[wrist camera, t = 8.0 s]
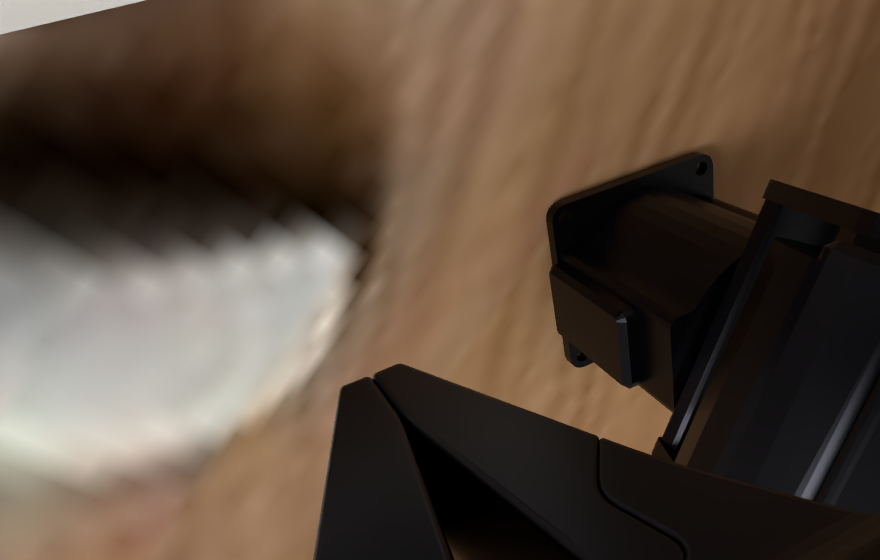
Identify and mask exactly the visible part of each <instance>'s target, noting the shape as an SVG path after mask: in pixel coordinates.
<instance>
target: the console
mask: <svg viewBox="0 0 880 560" xmlns="http://www.w3.org/2000/svg"><path fill="white" fill-rule="evenodd" d="M140 1H144V0H0V34H4V33H8V32H13V31H17V30H21V29H25V28H30V27H34V26H38V25H42V24H47V23H51V22H55V21H59V20H64V19H68V18H72V17H76V16H81V15H85V14H89V13H93V12H98V11H102V10H106V9H110V8H115V7H119V6H123V5H127V4H132V3H136V2H140Z"/></svg>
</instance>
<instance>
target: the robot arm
mask: <svg viewBox="0 0 880 560" xmlns="http://www.w3.org/2000/svg"><path fill="white" fill-rule="evenodd" d="M698 163H699V168H698V170H697V171H696V172H695V170H696V166H697V165H698ZM762 198H765V199H766V200H765V202H764V204H763V207H762V209H761V211H760V214H759V215H757V214H754V213H752V212H749V211H747V210H744V209H741V208H739V207H736V206H733V205H731V204H728V203H725V202H723V201H720V200H717V199H715V198H713V163H712V159H711V158H710V156H708V155H705V154H702V153H699V152H695V153H691V154H688V155H685V156H682V157H680V158H677V159H674V160H671V161H669V162H666V163H663V164H660V165H657V166H655V167H652V168H649V169H646V170H644V171H641V172H638V173H635V174H632V175H630V176H627V177H624V178H621V179H619V180H616V181H613V182H610V183H608V184H605V185H602V186H599V187H596V188H594V189H591V190H588V191H585V192H583V193H580V194H577V195H574V196H571V197H569V198H566V199H563V200H560V201H558V202H556V203H554V204H553V205H552V206H551V207H550V208H549V210H548V212H547V215H546V222H547V229H548V236H549V243H550V250H551V258H552V265H553V266H552V267H551V270H550V273H549V276H550V283H551V290H552V297H553V304H554V311H555V318H556V325H557V331H558V333H559V334H561V335H562V337H563V344H564V351H565V356H566V359H567V360H568V361H569V362H570V363H571V364H573V365H574V366H575V367H579V368H580V367H584V366H587V365H589V364H591V363H593V362H594V363H596V364H597V365H598V366H599V367H600V368H602V369H603V370H604V371H605V372H606V373H608V374H609V375H610V376H611V377H612V378H614V379H615V380H616V381H617V382H618V383H620V384H621V385H623V386H625V387H627V388H629V389H630V388H632V387H634V386H637V385H639V386H640V387H641V388H643V389H644V390H645V391H646V392H648V393H649V394H650V395H651V396H653V397H654V398H655V399H656V400H658V401H659V402H660V403H661V404H663V405H664V406H665V407H666V408H668V409H669V410H670V411H671V412H673V413H672V416H671V418H670V420H669V423H668V425H667V427H666V430H665V432H664V434H663V436H662V437H659V438H658V439H657V442H656V444H655V446H654V449H653V451H652V455H650V454H647V453H644V452H641V451H638V450H635V449H632V448H629V447H626V446H624V445H621V444H618V443H615V442H613V441H610V440H607V439H605V438H601V439H600V440H599V438H598V437H597V436H596V435H593V434H590V433H588V432H585V431H582V430H580V429H577V428H574V427H572V426H569V425H566V424H563V423H561V422H558V421H555V420H553V419H550V418H547V417H545V416H542V415H539V414H536V413H534V412H531V411H528V410H526V409H523V408H520V407H517V406H515V405H512V404H509V403H507V402H504V401H501V400H499V399H496V398H493V397H490V396H488V395H485V394H482V393H480V392H477V391H474V390H472V389H469V388H466V387H463V386H461V385H458V384H455V383H453V382H450V381H447V380H445V379H442V378H439V377H436V376H434V375H431V374H428V373H426V372H423V371H420V370H418V369H415V368H412V367H409V366H407V365H404V364H397V365H394V366H392V367H389V368H387V369H384V370H382V371H379V372H377V373H375V374H374V375H373V378H372V379H371V378H370V377H364V378H362V379H359V380H357V381H354V382H352V383H349V384H347V385H344V386H342V387H341V389H340V391H339V397H338V404H337V410H336V417H335V423H334V430H333V436H332V442H331V449H330V455H329V462H328V468H327V475H326V481H325V488H324V494H323V501H322V507H321V514H320V520H319V526H318V533H317V539H316V546H315V552H314V559H313V560H880V213H877V212H874V211H870V210H867V209H864V208H861V207H858V206H855V205H851V204H848V203H845V202H842V201H839V200H835V199H832V198H829V197H826V196H823V195H820V194H816V193H813V192H810V191H807V190H804V189H801V188H797V187H794V186H791V185H788V184H785V183H781V182H778V181H775V180H772V179H770V181H769V183H768V186H767V188H766V190H765V193H764V195H763V197H762ZM563 212H566V217H565V218H564V220H563V221H561V222H559V217H560V215H561V214H562V213H563ZM579 351H581V354H580V355H579V356H577V354H578V353H579Z"/></svg>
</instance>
